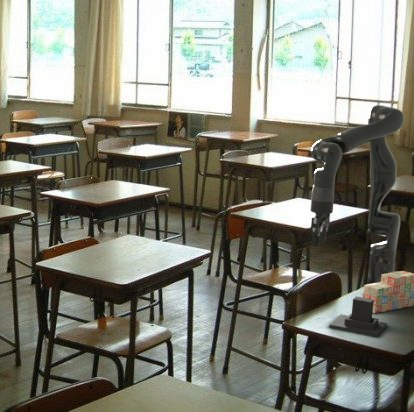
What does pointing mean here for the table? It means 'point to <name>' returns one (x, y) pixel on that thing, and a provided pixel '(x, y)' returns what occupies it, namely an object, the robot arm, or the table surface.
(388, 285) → the stack of blocks
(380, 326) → the base pad
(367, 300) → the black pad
